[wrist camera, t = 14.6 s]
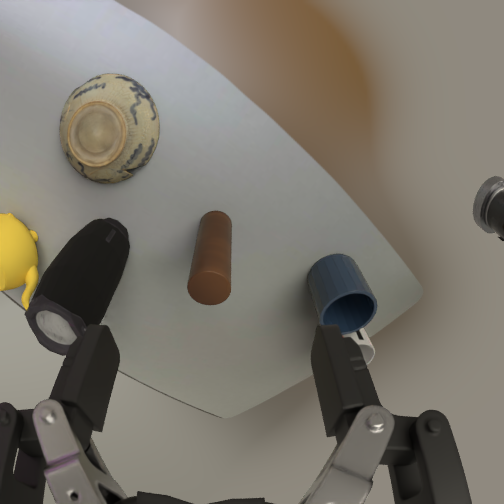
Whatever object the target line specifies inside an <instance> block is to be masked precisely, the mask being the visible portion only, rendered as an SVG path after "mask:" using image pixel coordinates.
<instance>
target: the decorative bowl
mask: <svg viewBox="0 0 504 504" xmlns="http://www.w3.org/2000/svg"><path fill="white" fill-rule="evenodd" d="M158 137H159V118H158V113H157V109H156V106H155V104H154V102H153V100H152V98H151V96H150V94H149V93H148V92H147V91H146V90H145V88H144V87H143V86H141V85H140V84H139V83H138V82H136V81H134V80H133V79H131V78H129V77H127V76H123V75H119V74H103V75H99V76H96V77H94V78H92V79H90V80H89V81H87V82H86V83H85V84H84V85H82V86H81V87H79V88H76V89H75V90H74V91H73V92H72V94H71V95H70V96H69V98H68V100H67V102H66V104H65V106H64V108H63V111H62V115H61V120H60V139H61V144H62V148H63V151H64V153H65V155H66V157H67V159H68V161H69V162H70V164H71V165H72V166H73V167H74V169H75V170H76V171H77V172H79V173H80V174H81V175H82V176H84V177H85V178H88V179H90V180H92V181H95V182H98V183H116V182H119V181H120V180H125V179H128V178H130V177H131V176H133V174H131V173H129V172H127V171H126V169H133V168H136V167H140V166H142V165H146V163H147V162H148V161H149V160H150V158H151V156H152V154H153V152H154V150H155V148H156V145H157V142H158Z"/></svg>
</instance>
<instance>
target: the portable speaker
mask: <svg viewBox="0 0 504 504" xmlns="http://www.w3.org/2000/svg"><path fill="white" fill-rule="evenodd" d="M129 248H130V245H129V241H128V232H127V229H126V228H125V227H124V226H123V225H122V224H121V223H120V222H118V221H117V220H114V219H111V218H107V219H97V220H94V221H92V222H90V223H89V224H87V225H86V226H85V227H84V228H83V229H81V230H80V231H79V232H78V233H77V234H76V235H75V236H73V237H72V238H71V239H70V240H69V241H68V243H67V244H66V245H65V246H64V248H63V249H62V250H61V251H60V253H59V254H58V255H57V256H56V258H55V259H54V260H53V262H52V263H51V264H50V266H49V267H48V268H47V270H46V271H45V272H44V274H43V276H42V278H41V280H40V283H39V285H38V287H37V289H36V291H35V294H34V296H33V298H32V301H31V302H30V304H29V307H28V309H27V310H26V312H25V316H26V318H27V321H28V323H29V326H30V327H31V329H32V331H33V332H34V334H35V336H36V337H37V339H38V341H39V343H40V344H41V345H43V346H44V347H45V348H47V349H48V350H49V351H52V352H54V353H57V354H60V355H62V356H63V355H66V354H67V352H68V350H69V347H70V345H71V344H72V343H73V342H74V341H75V340H76V339H77V337H78V336H82V337H83V335H84V333H85V331H86V328H87V327H88V325H90V324H95V325H99V324H100V322H101V321H102V319H103V318H104V315H105V313H106V310H107V308H108V306H109V304H110V301H111V299H112V297H113V295H114V292H115V290H116V288H117V286H118V284H119V281H120V279H121V276H122V273H123V270H124V267H125V264H126V261H127V258H128V254H129Z"/></svg>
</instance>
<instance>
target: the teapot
mask: <svg viewBox="0 0 504 504" xmlns="http://www.w3.org/2000/svg"><path fill="white" fill-rule="evenodd" d="M37 240H38V236H37V234H36V232H34V231H32V230H30V231H29V230H28V228H27V227H26V226H25V225H24V224H23V223H22V222H21V221H20V220H18V219H17V218H15V217H14V216H13V215H12V214H11V213H8V214H2V213H0V291H5V290H10V289H14V288H17V287H20V286H22V285H23V284H25V283H26V289H25V291H24V293H23V295H22V304H23V306H24V308H25V309H26V310H27V309H28V307H29V300H30V297H31V295H32V293H33V292H34V290H35V288H36V286H37V284H38V279H39V276H38V271H37V265H38V253H37V248H36V244H35V242H37Z"/></svg>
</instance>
